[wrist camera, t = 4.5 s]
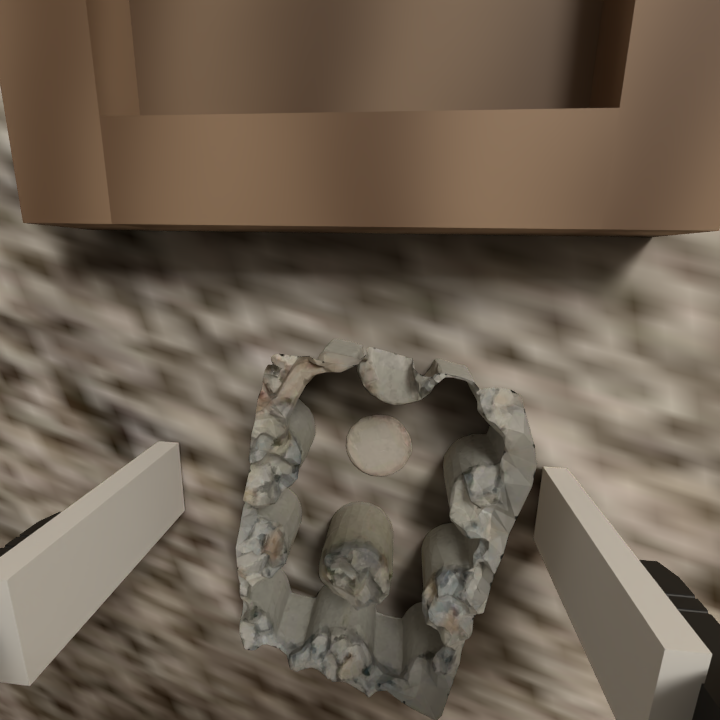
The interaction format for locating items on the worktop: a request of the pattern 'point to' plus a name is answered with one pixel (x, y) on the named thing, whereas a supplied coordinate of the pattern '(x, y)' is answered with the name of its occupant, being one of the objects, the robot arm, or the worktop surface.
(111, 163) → the pocket board
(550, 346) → the worktop surface
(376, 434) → the egg carton
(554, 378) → the worktop surface
